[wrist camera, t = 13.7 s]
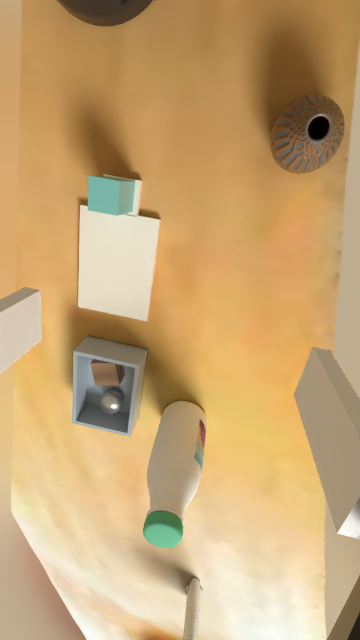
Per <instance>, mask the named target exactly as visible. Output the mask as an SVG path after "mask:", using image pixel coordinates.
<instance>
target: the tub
mask: <svg viewBox="0 0 360 640" xmlns="http://www.w3.org/2000/svg"><path fill="white" fill-rule="evenodd" d="M147 351H148V349H147V348H142V347H138V346H133V345H129V344H124V343H119V342H115V341H110V340H105V339H101V338H96V337H92V336H87V337H86V338H85V339H84V340H83V341H82V342H81V343H80V344H79V345H78V346H77V348H76V349H75V350H74V351H73V411H72V423H75V424H79V425H83V426H87V427H91V428H96V429H100V430H104V431H108V432H113V433H117V434H121V435H125V436H130V437H131V435H132V432H133V430H134V427H135V425H136V422H137V419H138V417H139V411H140V404H141V396H142V389H143V381H144V374H145V366H146V359H147ZM93 359H97V360H101V361H106V362H110V363H115V364H119V365H124V370H125V376H124V378H123V380H122V382H121V383H120V385H95V381H94V377H93V373H92V369H91V365H90V363H91V362H92V360H93ZM111 387H117V388H119V389H121V390H122V391H123V393H124V399H123V401H122V403H121V406H120V408H119V410H118V411H117V412H116V413H114V414H108V413H106V412H104V411H103V410H102V409H101V407H100V402H101V400H102V398H103V396H104V395H105V393H106V391H107V389H109V388H111Z"/></svg>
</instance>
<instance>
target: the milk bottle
mask: <svg viewBox="0 0 360 640" xmlns="http://www.w3.org/2000/svg"><path fill="white" fill-rule="evenodd" d="M205 434H206V416H205V414H204V412H203V411H202V409H201V408H200V407H199V406H197V405H196V404H194V403H191V402H188V401H177V402H174V403H171V404H170V405H169V406H167V407H166V408H165V410H164V412H163V414H162V417H161V421H160V424H159V428H158V431H157V435H156V438H155V442H154V445H153V449H152V452H151V456H150V460H149V465H148V471H147V484H148V489H149V494H150V510H149V511H148V512H147V518H146V520H145V523H144V528H143V533H144V536H145V538H146V539H147V540H148V541H149V542H150V543H151V544H153V545H155V546H158V547H162V548H171V547H175V546H177V545H178V544H179V543H180V542H181V539H182V535H183V525H184V519H183V515H184V512H185V510H186V508H187V506H188V504H189V503H190V501H191V500H192V498H193V497H194V495H195V493H196V491H197V489H198V486H199V483H200V479H201V472H202V464H203V455H204V445H205Z"/></svg>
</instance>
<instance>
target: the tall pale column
mask: <svg viewBox="0 0 360 640" xmlns="http://www.w3.org/2000/svg"><path fill="white" fill-rule="evenodd" d="M186 594H187V602H186V613H185V626H184V636H183V640H197V636H198V623H199V611H200V597H201V596H202V595H203V589H202V588H201V587H200V580H199V579H198V578H196V577H194V578H192V579H191V582H190V584H189V585H187V586H186Z"/></svg>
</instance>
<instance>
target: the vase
mask: <svg viewBox="0 0 360 640" xmlns="http://www.w3.org/2000/svg"><path fill="white" fill-rule="evenodd" d="M343 135H344V117H343V114H342V111H341V109H340V107H339V106H338V105H337V104H336V102H334V101H333V100H332V99H330V98H328V97H326V96H323V95H316V94H314V95H307V96H303V97H301V98H298V99H296V100H295V101H293V102H292V103H290V104H289V105H288V106H287V107H286V108H285V109H284V110H283V111H282V112H281V114H280V115H279V117H278V118H277V120H276V122H275V124H274V126H273V129H272V133H271V140H270V146H271V152H272V155H273V157H274V159H275V161H276V162H277V164H278V165H279V166H280V167H281V168H283V169H284V170H286V171H288V172H291V173H297V174H303V173H309V172H312V171H315V170H317V169H319V168H320V167H322V166H323V165H325V164H326V163H327V162H328V161H329V160H330V159H331V158H332V157H333V156H334V154H335V153H336V151H337V150H338V148H339V146H340V144H341V142H342V139H343Z"/></svg>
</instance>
